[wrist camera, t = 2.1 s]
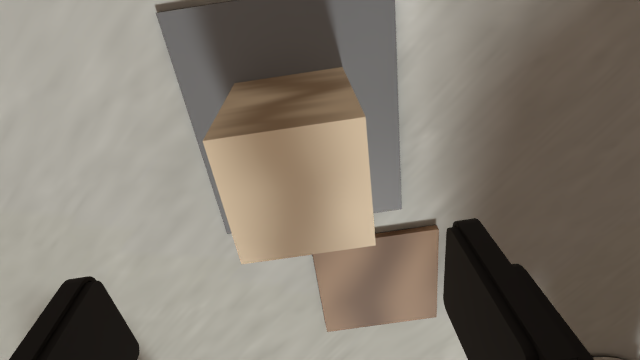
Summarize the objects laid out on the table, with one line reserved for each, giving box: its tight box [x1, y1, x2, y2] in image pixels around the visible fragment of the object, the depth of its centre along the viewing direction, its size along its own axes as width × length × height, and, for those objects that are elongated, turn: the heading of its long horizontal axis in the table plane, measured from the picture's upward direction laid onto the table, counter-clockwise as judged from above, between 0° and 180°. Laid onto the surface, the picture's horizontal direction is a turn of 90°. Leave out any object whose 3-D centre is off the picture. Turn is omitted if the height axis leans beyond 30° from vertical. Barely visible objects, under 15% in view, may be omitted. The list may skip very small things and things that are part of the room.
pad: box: [313, 225, 439, 332], centre depth 29 cm, size 9×9×1 cm
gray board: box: [156, 0, 402, 234], centre depth 22 cm, size 12×14×1 cm
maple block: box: [203, 67, 376, 264], centre depth 19 cm, size 6×6×8 cm
